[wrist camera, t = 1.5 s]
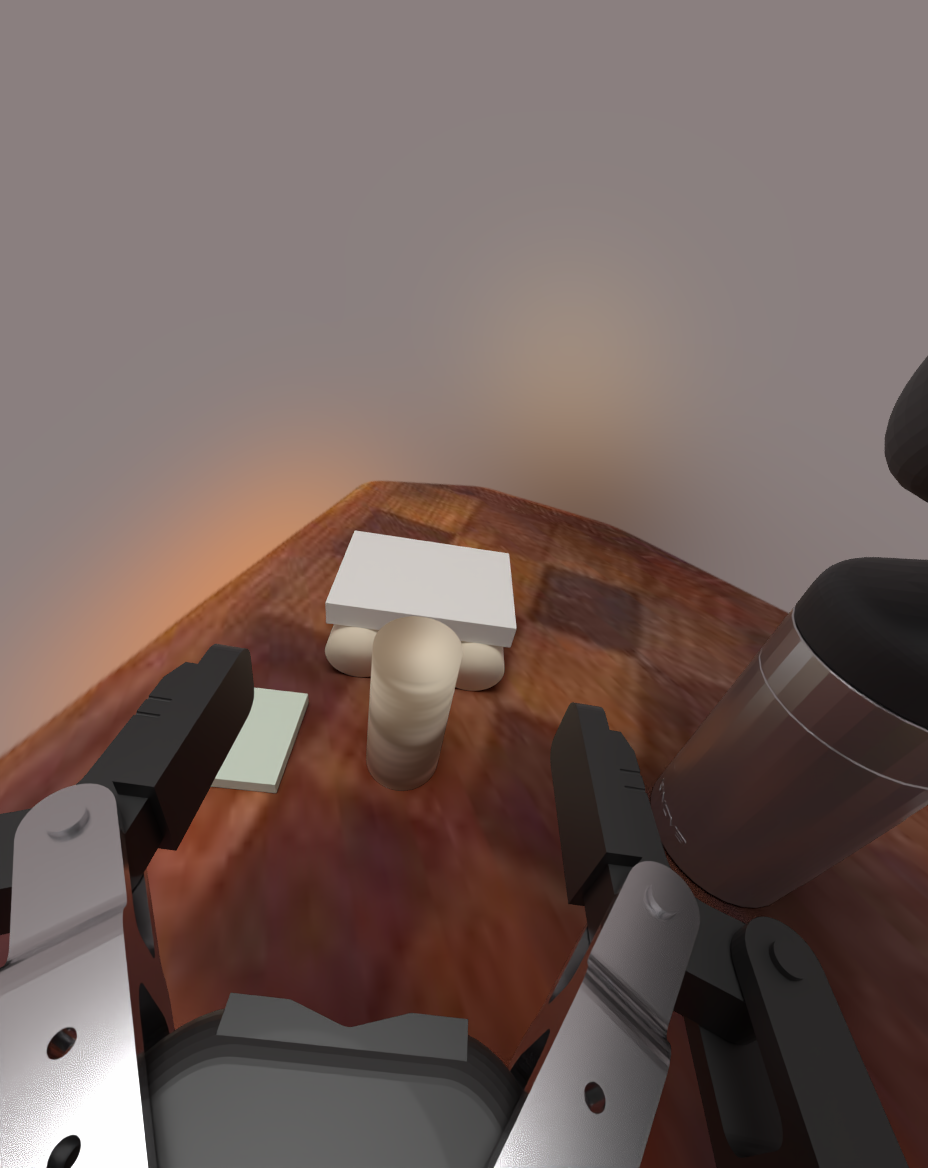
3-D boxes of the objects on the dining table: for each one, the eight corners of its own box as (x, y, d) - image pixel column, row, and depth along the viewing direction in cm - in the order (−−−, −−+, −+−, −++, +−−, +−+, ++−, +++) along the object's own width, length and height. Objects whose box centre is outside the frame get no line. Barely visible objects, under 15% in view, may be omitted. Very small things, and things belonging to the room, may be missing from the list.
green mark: (308, 702, 35) (308, 694, 34) (276, 793, 29) (274, 785, 28) (212, 691, 34) (209, 682, 33) (160, 781, 28) (156, 772, 28)
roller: (440, 729, 35) (463, 622, 28) (435, 794, 31) (461, 687, 24) (373, 721, 34) (380, 611, 28) (359, 786, 30) (364, 675, 24)
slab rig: (493, 607, 47) (508, 550, 43) (497, 694, 38) (516, 633, 34) (354, 588, 46) (355, 527, 41) (325, 672, 37) (323, 607, 33)
